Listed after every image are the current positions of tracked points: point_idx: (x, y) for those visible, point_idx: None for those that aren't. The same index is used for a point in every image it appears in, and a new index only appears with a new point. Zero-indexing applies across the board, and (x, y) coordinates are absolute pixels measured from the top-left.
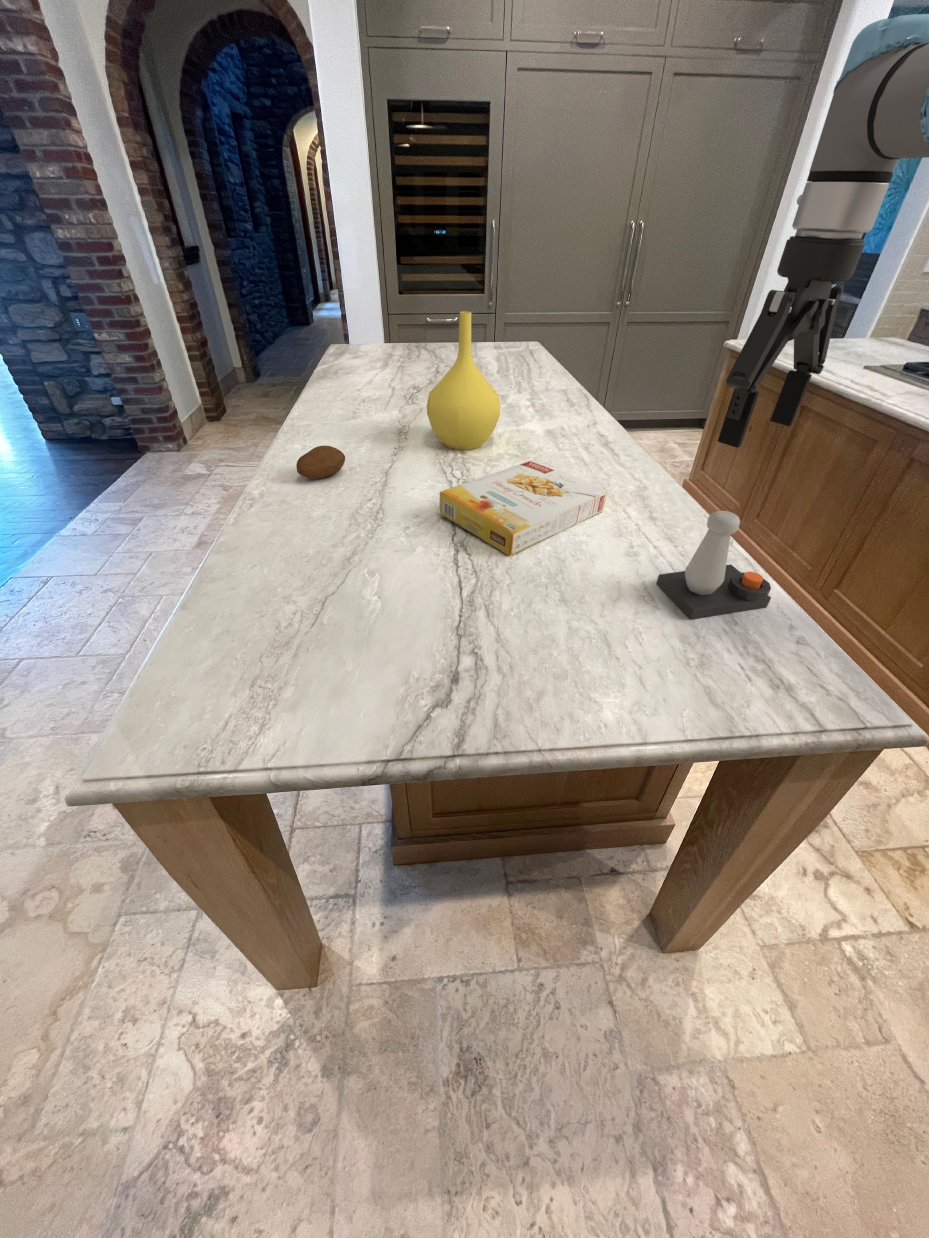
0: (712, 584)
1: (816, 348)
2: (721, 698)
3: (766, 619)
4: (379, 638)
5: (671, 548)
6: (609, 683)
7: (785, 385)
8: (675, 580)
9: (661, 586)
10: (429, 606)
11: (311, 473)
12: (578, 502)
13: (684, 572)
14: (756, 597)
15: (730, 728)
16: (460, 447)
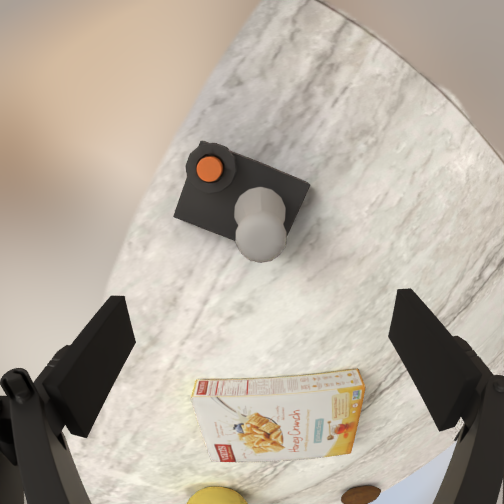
0: (274, 192)
1: (33, 471)
2: (390, 96)
3: (227, 127)
4: (496, 323)
5: (188, 289)
6: (446, 179)
7: (99, 403)
8: None
9: None
10: None
11: (374, 488)
12: (247, 398)
13: None
14: (227, 148)
15: (413, 76)
16: (233, 491)
